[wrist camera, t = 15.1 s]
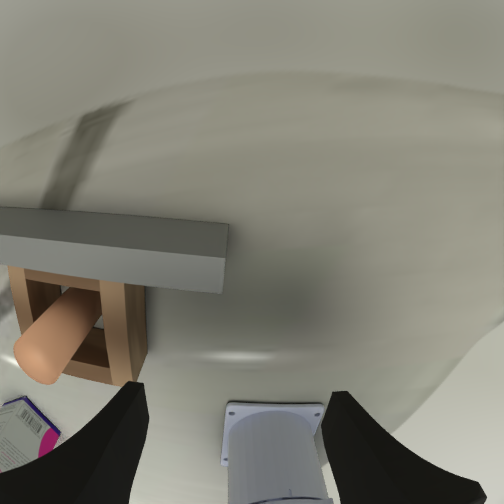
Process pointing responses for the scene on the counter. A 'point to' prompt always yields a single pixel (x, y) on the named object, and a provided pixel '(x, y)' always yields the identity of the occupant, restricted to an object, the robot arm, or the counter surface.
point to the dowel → (57, 334)
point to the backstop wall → (116, 247)
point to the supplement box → (24, 434)
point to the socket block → (97, 340)
